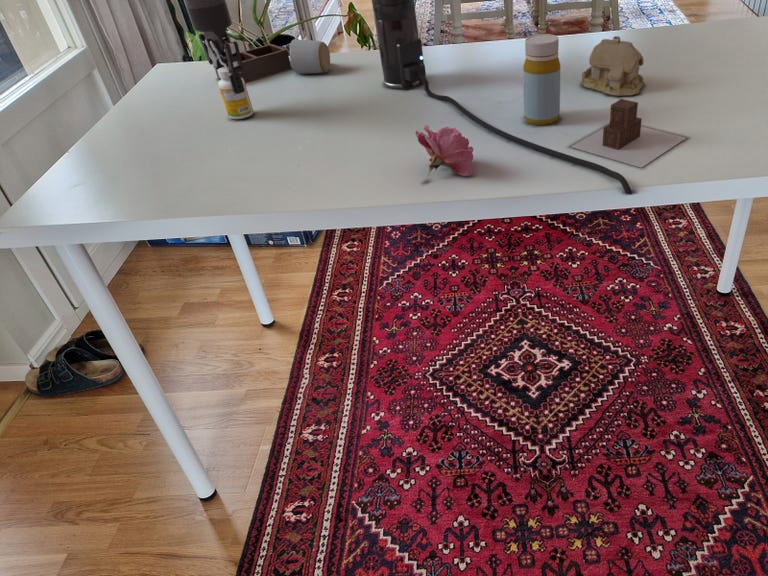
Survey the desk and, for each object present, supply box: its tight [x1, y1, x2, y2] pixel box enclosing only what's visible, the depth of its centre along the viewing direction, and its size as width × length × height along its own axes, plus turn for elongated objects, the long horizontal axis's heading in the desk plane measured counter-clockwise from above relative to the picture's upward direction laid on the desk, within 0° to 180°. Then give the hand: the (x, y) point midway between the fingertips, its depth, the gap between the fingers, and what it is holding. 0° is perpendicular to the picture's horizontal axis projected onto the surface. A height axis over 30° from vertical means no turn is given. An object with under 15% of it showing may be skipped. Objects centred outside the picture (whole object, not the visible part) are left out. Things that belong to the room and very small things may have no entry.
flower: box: [415, 124, 474, 183], centre depth 111 cm, size 11×10×10 cm
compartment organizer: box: [214, 43, 293, 84], centre depth 161 cm, size 9×16×5 cm, turn 132°
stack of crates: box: [570, 98, 687, 168], centre depth 115 cm, size 15×15×7 cm
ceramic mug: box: [289, 38, 331, 75], centre depth 159 cm, size 11×8×8 cm
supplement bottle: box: [217, 66, 254, 120], centre depth 137 cm, size 5×5×10 cm
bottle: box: [522, 33, 561, 126], centre depth 123 cm, size 7×7×15 cm
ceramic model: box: [581, 35, 645, 97], centre depth 136 cm, size 14×11×10 cm
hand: (233, 89), depth 137 cm, fingers closed on supplement bottle, 5 cm apart
